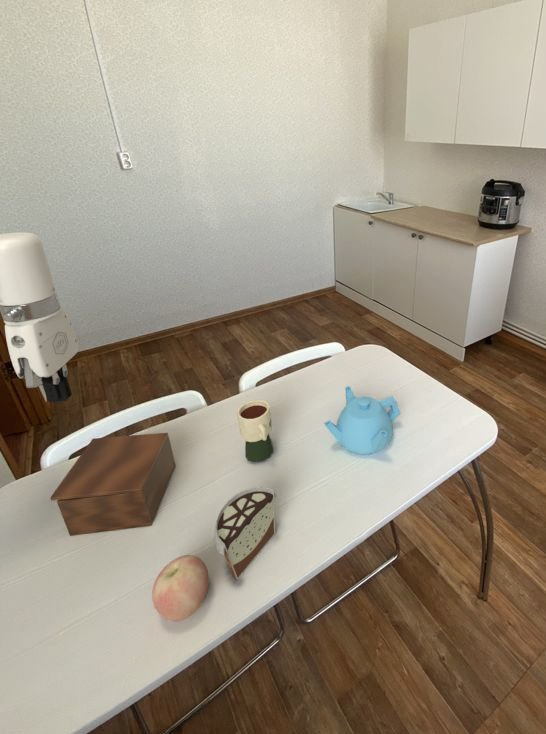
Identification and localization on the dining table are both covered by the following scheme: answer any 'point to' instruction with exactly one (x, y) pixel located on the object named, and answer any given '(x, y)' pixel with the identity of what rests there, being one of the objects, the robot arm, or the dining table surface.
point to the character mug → (256, 429)
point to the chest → (121, 503)
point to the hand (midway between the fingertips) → (60, 398)
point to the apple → (180, 588)
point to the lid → (112, 466)
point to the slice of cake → (245, 527)
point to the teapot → (364, 423)
